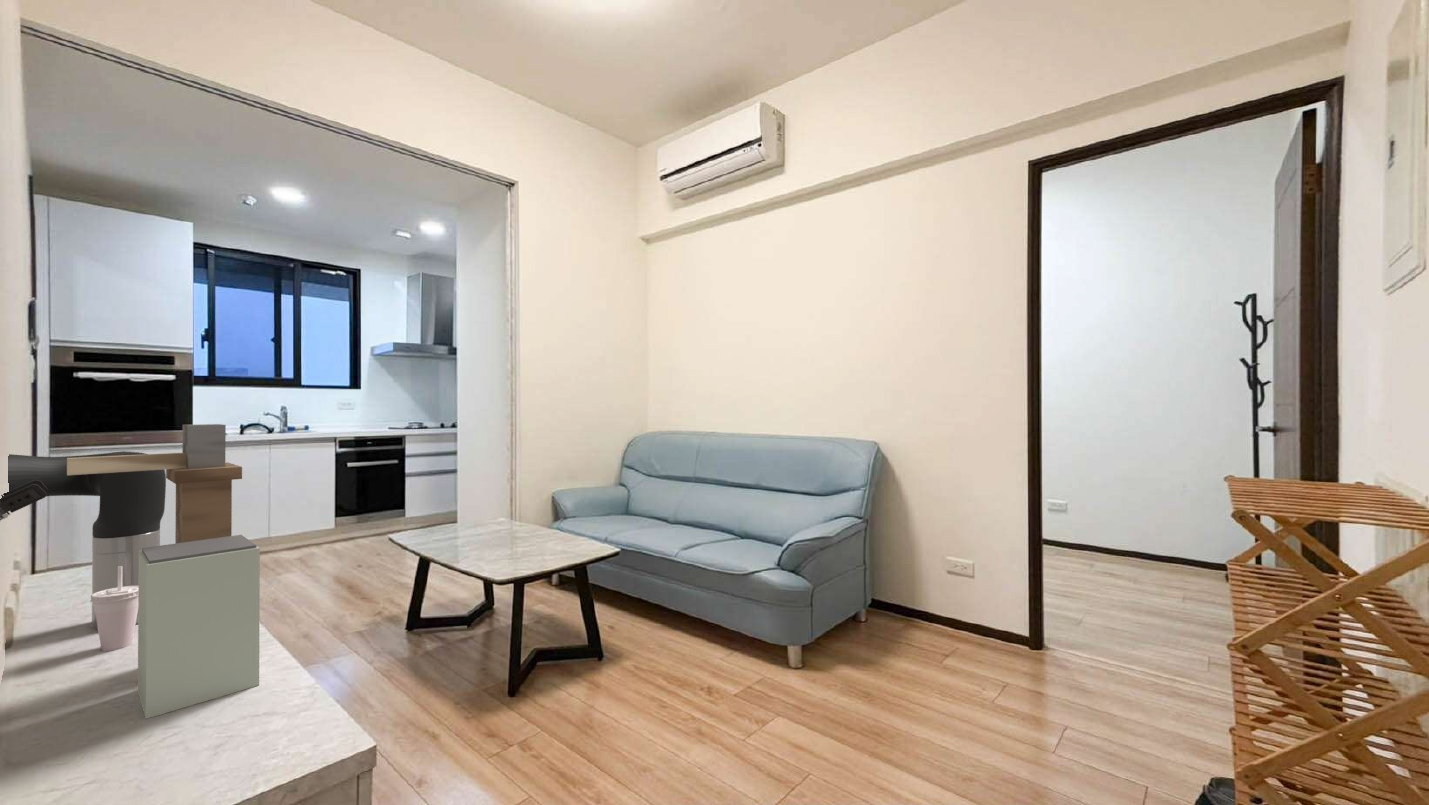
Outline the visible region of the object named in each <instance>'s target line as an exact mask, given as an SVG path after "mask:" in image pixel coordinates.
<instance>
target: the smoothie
mask: <svg viewBox="0 0 1429 805" xmlns="http://www.w3.org/2000/svg"><path fill="white" fill-rule="evenodd" d="M138 589H139V586H124V587H122V566H119V567H118V587H117V588H112V589H107V590H103V591H99V592H96V593H94V594H92V593H91V595H90V603H92V602H93V603H94V610H95V615H96V621H97V626H98V629H97V631H98V637H99V643H100V648H101V651H105V652H108V651H115V650H119V649H123V648H127V647H129V646H132V644H133V640H134V634H135V629H136V625H137V624H136V619H137V613H138Z"/></svg>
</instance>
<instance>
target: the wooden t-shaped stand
mask: <svg viewBox="0 0 1429 805" xmlns="http://www.w3.org/2000/svg"><path fill="white" fill-rule="evenodd" d="M165 474H166V480H169V481H170V482H172V483H173V484H174V485H175V543H174V544H176V543H184V542H191V541H198V540H206V539H213V538H221V537H228V536H232V533H233V532H232V531H233V530H232V526H233V525H232V523H233V522H232V520H233V519H232V512H233V510H232V507H233V506H232V505H233V504H232V502H233V501H232V500H233V499H232V498H233V496H232V495H233V493H232V492H233V491H232V490H233V482H232V481H233V480H242V479H243V467H242V465H238V464H235V463H230V462H225V467H213V468H197V469H187V468H180V469H165Z"/></svg>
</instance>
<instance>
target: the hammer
mask: <svg viewBox="0 0 1429 805" xmlns="http://www.w3.org/2000/svg"><path fill="white" fill-rule="evenodd" d="M226 426H227V425H226V424H223V423H222V424H221V423H220V424H219V423H214V424H213V423H210V424H209V423H208V424H205V423H204V424H182V452H169V453H167V452H166V453H150V454H149V453H145V455H123V456H101V457H80V458H67V475H82V474H98V473H115V472H131V471H147V470H163V469H165V470H166V469H180V468H187V469H197V468H213V467H225V463H226V440H227V439H226V430H227V429H226Z"/></svg>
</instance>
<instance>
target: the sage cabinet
mask: <svg viewBox="0 0 1429 805" xmlns="http://www.w3.org/2000/svg"><path fill="white" fill-rule="evenodd" d="M260 550H261V548H260V547H259V546H258V545H257V544H255V543H254V541H251V540H250V539H248V538H247V537H246V536H244V535H242V534H236V535H231V536H228V537H221V538H213V539H206V540H198V541H191V542H184V543H176V544H175V543H169V544H163V545H161V544H160V546H154V547H147V548H142V550H140V551H139V589H138V623H137V627H138V628H137V629H138V630H137V631H138V632H137V633H138V634H137V648H138V649H137V692H138V696H139V698H140V703H141V705H142V706H141V707H142V710H143V714H144V718H145V719H150V718H154V717H157V716H159V715H160V716H161V715H163V714H167V713H170V712H171V713H172V712H173V711H177V710H180V709H183V708H186V707H190V706H194V705H198V704H201V703H203V702H207V701H211V700H213V699H217V698H221V697H224V696H227V695H231V694H233V693H237V692H240V691H244V690H246V689H247V690H248V689H251V688H254V687H258V686H259V685H260V614H261V613H260V611H261V610H260V600H261V599H260V592H261V591H260V587H261V586H260V585H261V583H260V578H261V577H260V570H261V569H260V568H261V565H260V564H261V563H260V562H261V561H260V560H261V556H260V554H261V551H260Z"/></svg>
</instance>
